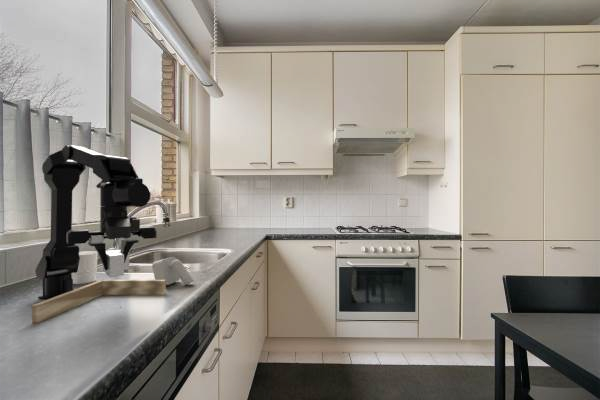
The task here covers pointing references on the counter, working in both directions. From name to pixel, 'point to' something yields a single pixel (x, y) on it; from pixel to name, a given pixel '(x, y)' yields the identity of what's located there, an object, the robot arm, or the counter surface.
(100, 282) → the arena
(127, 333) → the counter surface
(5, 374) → the counter surface
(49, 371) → the counter surface
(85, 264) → the white cup
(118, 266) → the bracket
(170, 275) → the wall hook
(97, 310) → the counter surface
